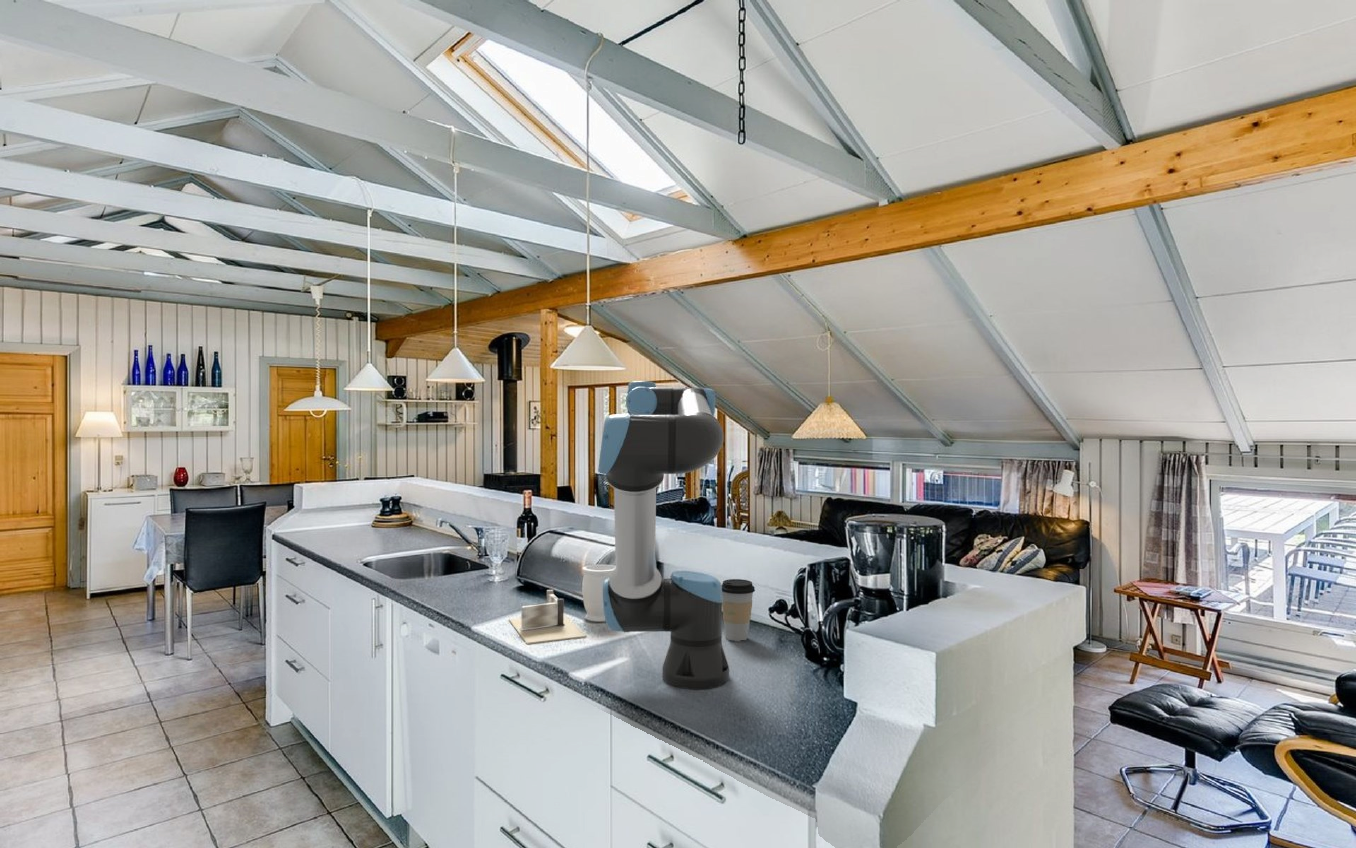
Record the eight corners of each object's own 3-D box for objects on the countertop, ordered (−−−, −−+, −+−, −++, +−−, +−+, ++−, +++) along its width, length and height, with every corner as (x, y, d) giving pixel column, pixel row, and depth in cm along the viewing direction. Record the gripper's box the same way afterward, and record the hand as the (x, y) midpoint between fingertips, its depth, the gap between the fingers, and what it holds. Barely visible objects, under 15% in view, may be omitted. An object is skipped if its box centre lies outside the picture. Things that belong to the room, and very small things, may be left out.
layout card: (586, 637, 187) (586, 635, 187) (526, 644, 180) (526, 642, 180) (562, 614, 209) (562, 612, 209) (508, 620, 202) (508, 618, 202)
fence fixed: (565, 626, 196) (565, 600, 196) (557, 627, 195) (557, 601, 195) (553, 613, 208) (553, 589, 208) (545, 614, 207) (545, 590, 207)
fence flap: (523, 630, 190) (523, 604, 190) (521, 628, 191) (521, 603, 191) (564, 624, 196) (564, 599, 196) (562, 622, 197) (562, 598, 197)
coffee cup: (713, 640, 186) (714, 583, 186) (727, 631, 194) (728, 577, 194) (746, 645, 181) (747, 587, 181) (759, 636, 190) (760, 581, 190)
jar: (620, 614, 210) (621, 564, 210) (614, 624, 200) (615, 571, 200) (586, 613, 211) (586, 563, 211) (578, 622, 201) (578, 570, 201)
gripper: (658, 439, 191) (657, 526, 191) (613, 439, 185) (612, 528, 185) (669, 440, 184) (668, 530, 184) (623, 440, 179) (622, 532, 179)
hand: (640, 529), depth 185 cm, fingers closed
